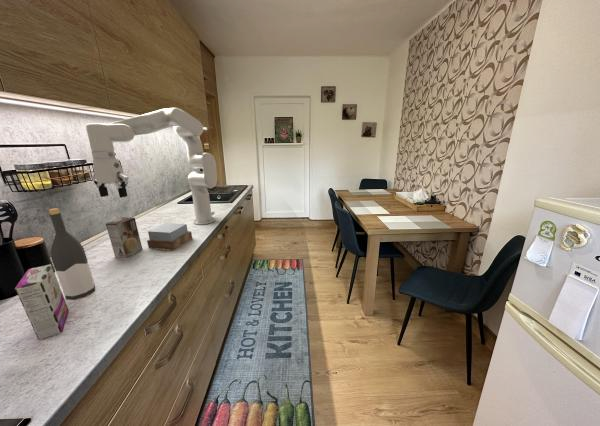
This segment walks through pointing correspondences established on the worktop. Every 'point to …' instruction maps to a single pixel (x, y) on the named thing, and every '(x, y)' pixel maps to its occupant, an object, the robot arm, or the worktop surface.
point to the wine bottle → (70, 261)
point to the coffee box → (124, 237)
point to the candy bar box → (43, 301)
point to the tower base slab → (170, 245)
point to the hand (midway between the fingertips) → (114, 196)
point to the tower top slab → (168, 232)
